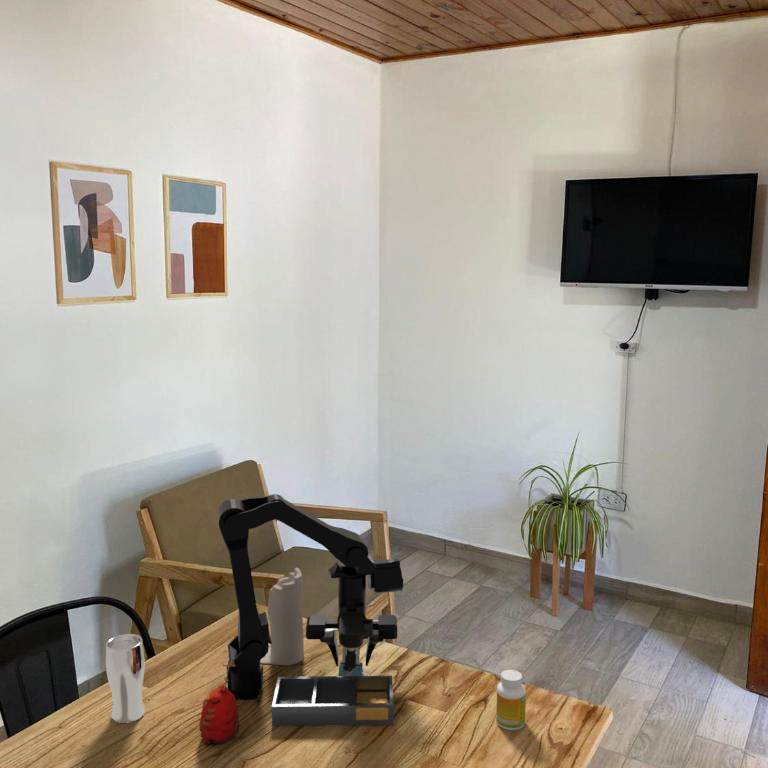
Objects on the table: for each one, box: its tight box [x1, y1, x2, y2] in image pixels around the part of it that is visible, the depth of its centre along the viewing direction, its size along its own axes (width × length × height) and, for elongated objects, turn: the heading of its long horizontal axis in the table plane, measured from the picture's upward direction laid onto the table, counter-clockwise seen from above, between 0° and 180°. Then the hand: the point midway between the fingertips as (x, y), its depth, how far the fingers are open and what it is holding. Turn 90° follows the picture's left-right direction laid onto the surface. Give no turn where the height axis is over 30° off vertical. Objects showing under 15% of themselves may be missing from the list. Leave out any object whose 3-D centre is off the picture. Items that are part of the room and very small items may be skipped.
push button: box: [338, 639, 370, 676], centre depth 163 cm, size 7×5×10 cm
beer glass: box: [105, 633, 146, 724], centre depth 150 cm, size 7×7×15 cm
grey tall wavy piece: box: [260, 567, 305, 666], centre depth 171 cm, size 7×14×20 cm, turn 82°
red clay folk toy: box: [198, 659, 240, 745], centre depth 143 cm, size 8×7×15 cm
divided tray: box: [271, 675, 395, 727], centre depth 152 cm, size 23×11×4 cm, turn 91°
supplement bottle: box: [495, 669, 527, 731], centre depth 147 cm, size 5×5×10 cm
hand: (351, 665), depth 164 cm, fingers open, 6 cm apart
